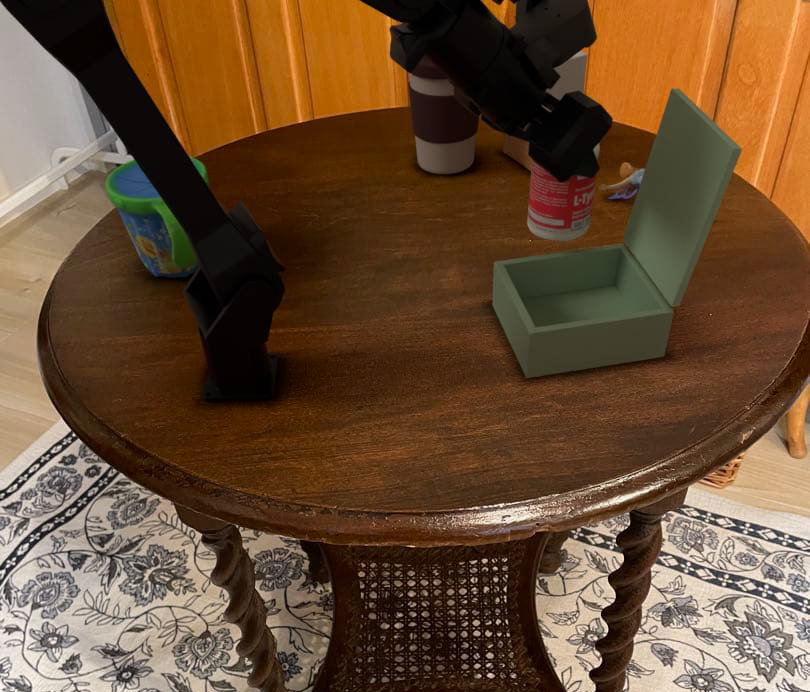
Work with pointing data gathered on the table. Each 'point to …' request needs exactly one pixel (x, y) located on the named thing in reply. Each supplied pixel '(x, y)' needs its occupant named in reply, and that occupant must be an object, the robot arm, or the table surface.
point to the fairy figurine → (627, 180)
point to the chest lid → (679, 194)
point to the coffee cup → (440, 122)
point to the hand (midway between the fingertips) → (577, 159)
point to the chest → (580, 310)
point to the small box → (568, 82)
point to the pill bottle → (560, 204)
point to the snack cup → (152, 221)
